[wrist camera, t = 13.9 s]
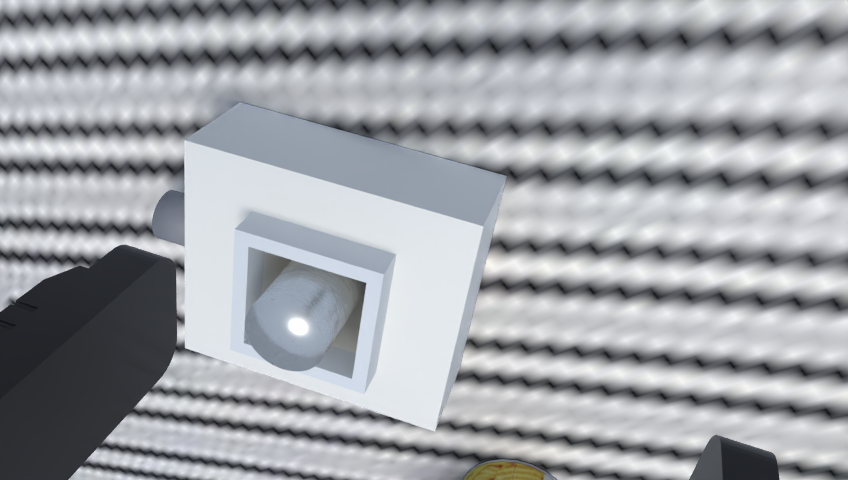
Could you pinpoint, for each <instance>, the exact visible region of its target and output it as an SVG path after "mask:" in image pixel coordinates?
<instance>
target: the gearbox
mask: <svg viewBox="0 0 848 480" xmlns="http://www.w3.org/2000/svg"><path fill="white" fill-rule="evenodd" d="M184 165H185V194H184V193H181V192H177V191H174V190H170V191H168V192H166V193H165V194H164V195H163V196H162V197H161V199H160V200H159V202H158V204H157V206H156V208H155V211H154V215H153V220H152V229H153V233H154V235H155V236H156V237H157V238H160V239H163V240H166V241H169V242H172V243H176V244H179V245H182V246H185V348H187V349H190V350H193V351H196V352H199V353H202V354H204V355H207V356H210V357H213V358H216V359H219V360H222V361H225V362H228V363H231V364H234V365H237V366H240V367H243V368H246V369H249V370H252V371H255V372H258V373H261V374H264V375H267V376H270V377H273V378H276V379H279V380H282V381H285V382H288V383H291V384H294V385H297V386H300V387H303V388H306V389H309V390H312V391H315V392H318V393H321V394H324V395H327V396H330V397H333V398H336V399H339V400H342V401H345V402H348V403H351V404H354V405H357V406H360V407H363V408H366V409H369V410H372V411H375V412H378V413H381V414H384V415H387V416H390V417H393V418H396V419H399V420H402V421H405V422H408V423H411V424H414V425H417V426H420V427H422V428H425V429H428V430H431V431H434V432H435V430H436V427H437V425H438V422H439V420H440V417H441V415H442V412H443V409H444V407H445V404H446V402H447V399H448V397H449V394H450V392H451V389H452V386H453V384H454V381H455V379H456V376H457V374H458V371H459V368H460V365H461V361H462V357H463V353H464V348H465V344H466V340H467V336H468V332H469V328H470V324H471V320H472V316H473V312H474V308H475V304H476V300H477V296H478V292H479V287H480V283H481V279H482V275H483V271H484V267H485V263H486V259H487V255H488V251H489V247H490V243H491V239H492V235H493V231H494V227H495V222H496V218H497V214H498V210H499V206H500V202H501V198H502V194H503V190H504V186H505V182H506V178H507V176H505V175H502V174H498V173H494V172H491V171H487V170H484V169H480V168H476V167H473V166H469V165H465V164H462V163H458V162H455V161H451V160H447V159H444V158H440V157H437V156H433V155H429V154H426V153H422V152H419V151H415V150H411V149H408V148H404V147H400V146H397V145H393V144H390V143H386V142H382V141H379V140H375V139H372V138H368V137H364V136H361V135H357V134H353V133H350V132H346V131H343V130H339V129H335V128H332V127H328V126H325V125H321V124H317V123H314V122H310V121H306V120H303V119H299V118H296V117H292V116H288V115H285V114H281V113H278V112H274V111H270V110H267V109H263V108H259V107H256V106H252V105H249V104H245V103H241V102H239V103H238V104H237V105H235V106H234V107H232V108H231V109H229V110H228V111H226V112H225V113H223V114H222V115H220V116H219V117H218V118H216V119H215V120H213V121H212V122H210V123H209V124H207V125H206V126H204V127H203V128H201V129H200V130H199V131H197V132H196V133H194V134H193V135H191V136H190V137H188V138H187V139H185V140H184ZM291 260H294V261H297V262H300V263H303V264H307V265H310V266H313V267H316V268H320V269H323V270H326V271H329V272H333V273H336V274H339V275H342V276H346V277H349V278H352V279H355V280H358V281H362V282H365V283H366V290H365V294H364V295H363V297H362V299H361V300H360V302H359V303H358V305H357V306H356V308H355V309H354V311H353V312H352V314H351V315H350V317H349V318H348V320H347V322H346V323H345V325H344V326H343V328H342V329H341V331H340V332H339V334H338V335H337V337H336V338H335V340H334V341H333V343H332V344H331V346H330V348H329V349H328V351H327V352H326V354H325V355H324V357H323V358H322V360H321V361H320V362H319V364H318V365H316V366H315V367H313V368H311V369H309V370H306V371H288V370H284V369H281V368H278V367H276V366H274V365H272V364H270V363H269V362H267V361H266V360H265V359H263V358H262V357H261V356H260V355H259V354H258V353H257V352H256V351H255V350H254V348H253V347H252V345H251V344H250V342H249V340H248V338H247V335H246V331H245V318H246V315H247V313H248V311H249V310H250V308H251V307H252V306H253V305H254V304H255V302H256V301H257V300H258V299H259V298H260V297H261V295H262V294H263V293H264V292H265V291H266V290H267V288H268V287H269V286H270V285H271V284H272V283H273V281H274V280H275V279H276V278H277V277H278V276H279V274H280V273H281V272H282V271H283V270H284V269H285V267H286V266H287V265H288V264H289V263H290V262H291Z"/></svg>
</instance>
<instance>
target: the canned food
mask: <svg viewBox="0 0 848 480" xmlns="http://www.w3.org/2000/svg"><path fill="white" fill-rule="evenodd" d="M463 480H556V479H555V478H554V477H553V476H551V475H550V474H549V473H547V472H546V471H544V470H542V469H540V468H538V467H536V466H534V465H532V464H529V463H525V462H522V461H518V460H508V459H498V460H490V461H486V462H484V463H481V464H479V465H476V466H475V467H474V468H472V469H471V470H470V471H469V472H468V473H467V474H466V476H465V477H464V479H463Z"/></svg>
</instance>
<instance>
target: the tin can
mask: <svg viewBox="0 0 848 480" xmlns="http://www.w3.org/2000/svg"><path fill="white" fill-rule="evenodd" d="M365 290H366V283H365V282H362V281H358V280H355V279H352V278H349V277H346V276H342V275H339V274H336V273H333V272H329V271H326V270H323V269H320V268H316V267H313V266H310V265H307V264H303V263H300V262H297V261H294V260H291V262H290V263H289V264H288V265H287V266H286V267H285V269H284V270H283V271H282V272H281V273H280V274H279V276H278V277H277V278H276V279H275V280H274V281H273V283H272V284H271V285H270V286H269V287H268V288H267V290H266V291H265V292H264V293H263V294H262V295H261V297H260V298H259V299H258V300H257V301H256V302H255V304H254V305H253V306H252V307H251V308H250V310H249V311H248V313H247V315H246V318H245V331H246V335H247V338H248V340H249V342H250V344H251V345H252V347H253V348H254V350H255V351H256V352H257V353H258V354H259V355H260V356H261V357H262V358H263V359H265V360H266V361H267V362H269V363H270V364H272V365H274V366H276V367H278V368H281V369H284V370H288V371H306V370H309V369H311V368H313V367H315V366H316V365H318V364H319V362H320V361H321V360H322V358H323V357H324V355H325V354H326V352H327V351H328V349H329V348H330V346H331V344H332V343H333V341H334V340H335V338H336V337H337V335H338V334H339V332H340V331H341V329H342V328H343V326H344V325H345V323H346V322H347V320H348V318H349V317H350V315H351V314H352V312H353V311H354V309H355V308H356V306H357V305H358V303H359V302H360V300H361V299H362V297H363V295H364V294H365Z"/></svg>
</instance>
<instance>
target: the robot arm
mask: <svg viewBox="0 0 848 480" xmlns="http://www.w3.org/2000/svg"><path fill="white" fill-rule="evenodd" d="M176 342H177V308H176V269H175V265H174V263H173V261H172V260H171V259H169V258H166V257H163V256H159V255H156V254H153V253H150V252H147V251H144V250H141V249H138V248H134V247H131V246H128V245H120V246H118V247H116V248H114V249H113V250H112V251H110V252H109V253H108V254H106V255H105V256H104V257H103V258H101V259H100V260H99V261H98V262H96V263H95V264H94V265H92V266H91V267H90V268H89V269H88V268H85V267H82V266H78V267H75V268H73V269H70V270H68V271H65V272H62V273H60V274H57V275H55V276H52V277H50V278H47V279H44V280H43V281H41V282H40V283H39V284H37V285H36V286H35V287H33V288H32V289H31V290H29V291H28V292H27V293H25V294H24V295H23V296H21V297H20V298H19V299H17V300H16V303H15V305H9V306H8V307H7V308H5V309H4V310H3V311H1V312H0V480H68V479H69V478H70V477H71V476H72V475H73V474H74V473H75V472H76V470H77V469H78V468H79V467H80V466H81V465H82V464H83V463H84V462H85V461H86V460H87V458H88V457H89V456H90V455H91V454H92V453H93V452H94V451H95V450H96V449H97V447H98V446H99V445H100V444H101V443H102V442H103V441H104V440H105V439H106V438H107V436H108V435H109V434H110V433H111V432H112V431H113V430H114V429H115V428H116V427H117V425H118V424H119V423H120V422H121V421H122V420H123V419H124V418H125V417H126V416H127V414H128V413H129V412H130V411H131V410H132V409H133V408H134V407H135V406H136V405H137V403H138V402H139V401H140V400H141V399H142V398H143V397H144V396H145V395H146V394H147V392H148V391H149V390H150V389H151V388H152V387H153V386H154V385H155V384H156V383H157V381H158V380H159V379H160V378H161V377H162V376H163V374H164V373H165V371H166V370H167V368H168V366H169V364H170V362H171V360H172V357H173V354H174V351H175V347H176ZM689 480H779V473H778V465H777V460H776V457H775V455H774V454H773V453H771V452H768V451H765V450H762V449H759V448H756V447H753V446H750V445H746V444H743V443H740V442H737V441H734V440H731V439H728V438H725V437H721V436H718V435H714V436H713V437H712V438H711V439H710V440H709V442H708V444H707V445H706V447H705V449H704V451H703V453H702V455H701V457H700V459H699V461H698V463H697V465H696V467H695V469H694V471H693V473H692V475H691V477H690V479H689Z"/></svg>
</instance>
